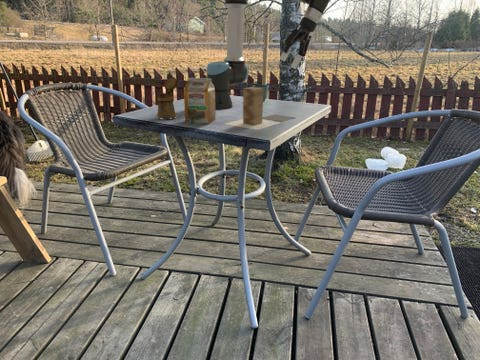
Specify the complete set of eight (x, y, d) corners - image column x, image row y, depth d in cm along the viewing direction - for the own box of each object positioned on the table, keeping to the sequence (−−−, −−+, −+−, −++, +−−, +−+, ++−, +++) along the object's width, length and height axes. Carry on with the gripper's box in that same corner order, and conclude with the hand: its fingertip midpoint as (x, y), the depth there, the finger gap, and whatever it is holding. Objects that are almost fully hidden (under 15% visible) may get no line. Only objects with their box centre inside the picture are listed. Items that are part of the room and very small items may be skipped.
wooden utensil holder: (183, 115, 181) (182, 76, 175) (170, 120, 169) (168, 79, 163) (167, 114, 184) (165, 76, 177) (153, 119, 172) (150, 79, 165)
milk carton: (215, 120, 170) (214, 77, 164) (208, 125, 161) (207, 79, 154) (193, 119, 172) (191, 76, 166) (185, 123, 163) (183, 79, 156)
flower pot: (266, 102, 219) (267, 86, 215) (251, 101, 220) (252, 86, 217) (268, 100, 227) (269, 85, 223) (254, 99, 228) (254, 84, 225)
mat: (260, 118, 174) (260, 118, 174) (274, 114, 183) (274, 114, 183) (281, 122, 167) (281, 121, 167) (295, 118, 176) (295, 117, 176)
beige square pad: (223, 124, 162) (223, 123, 162) (248, 117, 175) (248, 117, 175) (256, 130, 152) (256, 129, 152) (281, 123, 165) (281, 122, 165)
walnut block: (243, 123, 163) (243, 88, 158) (251, 121, 167) (251, 87, 162) (254, 125, 160) (254, 89, 154) (262, 123, 164) (263, 88, 159)
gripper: (308, 12, 156) (283, 59, 162) (325, 32, 178) (303, 73, 183) (293, 6, 159) (270, 53, 165) (312, 27, 181) (291, 67, 187)
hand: (287, 64), depth 174 cm, fingers open, 13 cm apart
